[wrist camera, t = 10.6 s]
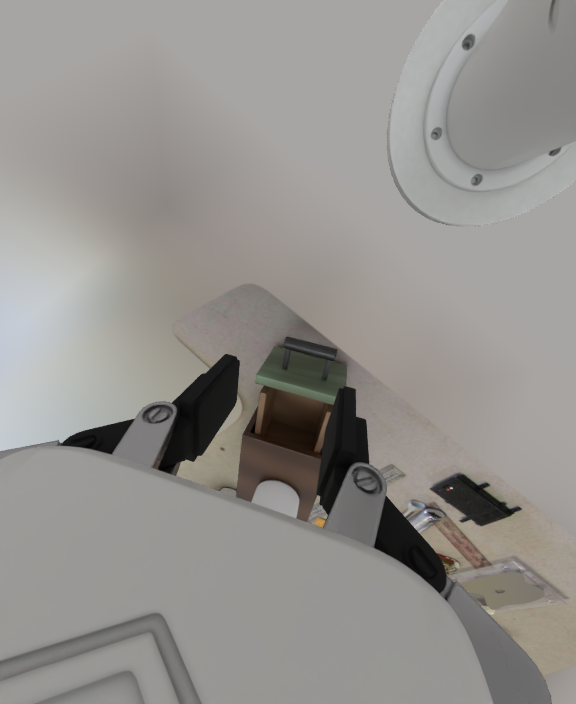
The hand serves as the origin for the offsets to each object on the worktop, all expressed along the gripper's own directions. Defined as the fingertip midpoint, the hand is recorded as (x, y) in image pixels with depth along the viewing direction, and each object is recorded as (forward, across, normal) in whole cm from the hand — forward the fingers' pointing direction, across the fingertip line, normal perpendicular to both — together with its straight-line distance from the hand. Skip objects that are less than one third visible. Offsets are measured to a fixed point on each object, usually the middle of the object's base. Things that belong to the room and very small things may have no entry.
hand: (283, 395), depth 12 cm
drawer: (+21, 0, +13) cm, 24 cm away
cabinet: (+21, 0, +25) cm, 33 cm away
